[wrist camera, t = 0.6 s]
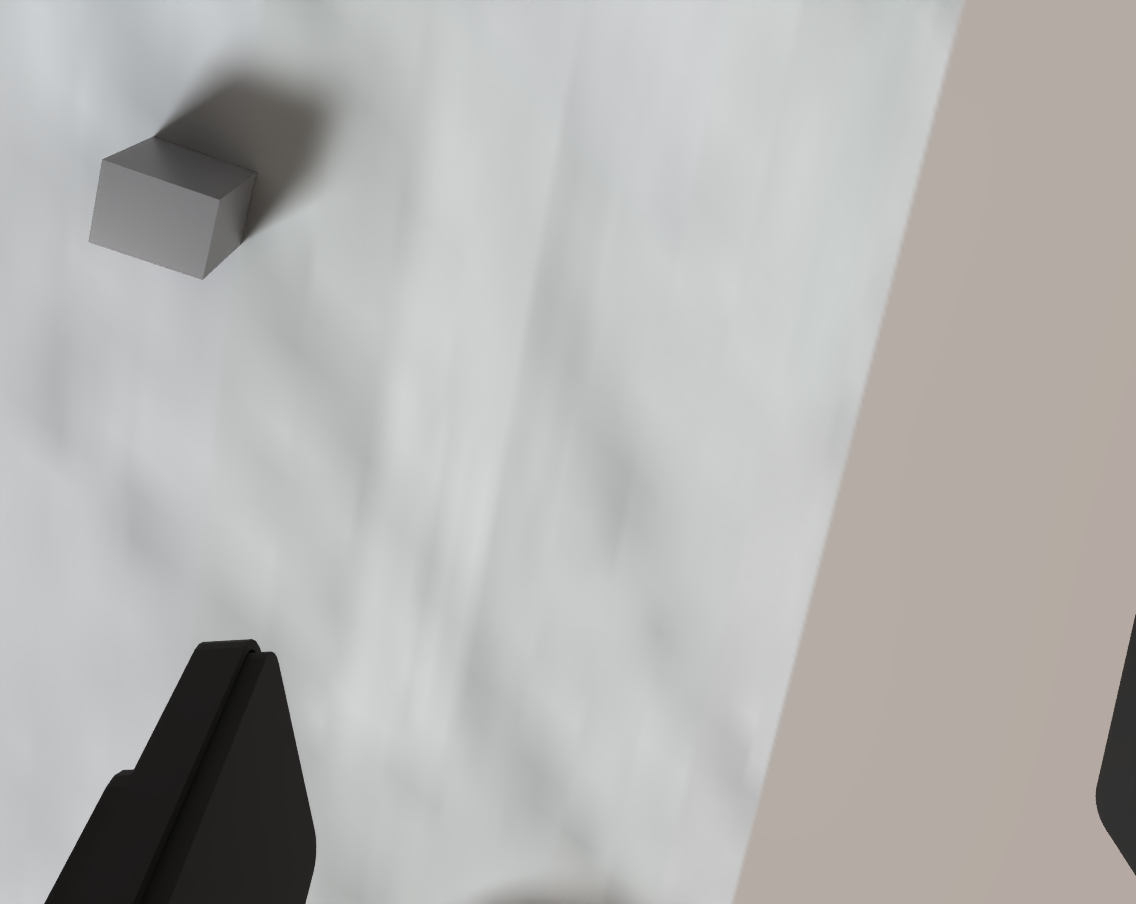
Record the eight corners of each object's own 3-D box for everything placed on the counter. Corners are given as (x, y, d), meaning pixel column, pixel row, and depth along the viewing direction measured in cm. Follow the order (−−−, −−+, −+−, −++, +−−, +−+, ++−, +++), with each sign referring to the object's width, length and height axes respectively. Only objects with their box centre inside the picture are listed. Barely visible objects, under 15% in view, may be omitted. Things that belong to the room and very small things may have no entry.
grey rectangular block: (153, 136, 39) (102, 159, 35) (257, 172, 40) (219, 199, 35) (140, 210, 40) (88, 241, 36) (240, 244, 41) (202, 279, 37)
